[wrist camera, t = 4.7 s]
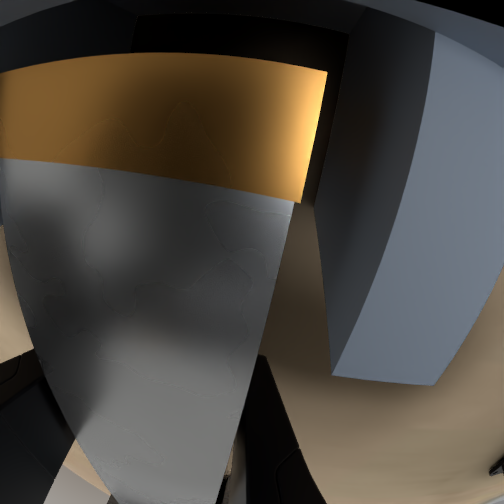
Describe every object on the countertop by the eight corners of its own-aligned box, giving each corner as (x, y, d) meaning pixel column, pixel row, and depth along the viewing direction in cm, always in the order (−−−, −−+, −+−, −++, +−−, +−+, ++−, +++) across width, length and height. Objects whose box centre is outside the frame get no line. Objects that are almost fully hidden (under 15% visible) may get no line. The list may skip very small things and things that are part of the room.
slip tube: (309, 100, 6) (327, 72, 2) (215, 493, 16) (201, 547, 12) (141, 80, 6) (-2, 74, 2) (157, 477, 16) (138, 528, 12)
